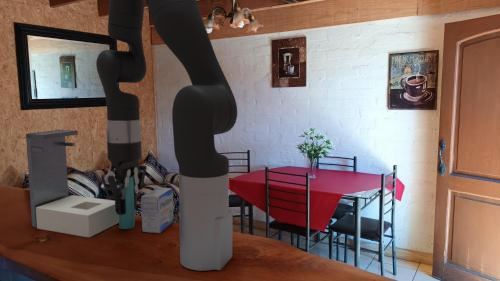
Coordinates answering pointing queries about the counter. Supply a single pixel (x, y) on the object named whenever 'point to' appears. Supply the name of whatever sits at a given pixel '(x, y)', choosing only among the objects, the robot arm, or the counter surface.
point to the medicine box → (157, 210)
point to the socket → (77, 215)
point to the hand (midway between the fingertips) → (126, 211)
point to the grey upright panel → (47, 167)
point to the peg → (128, 207)
